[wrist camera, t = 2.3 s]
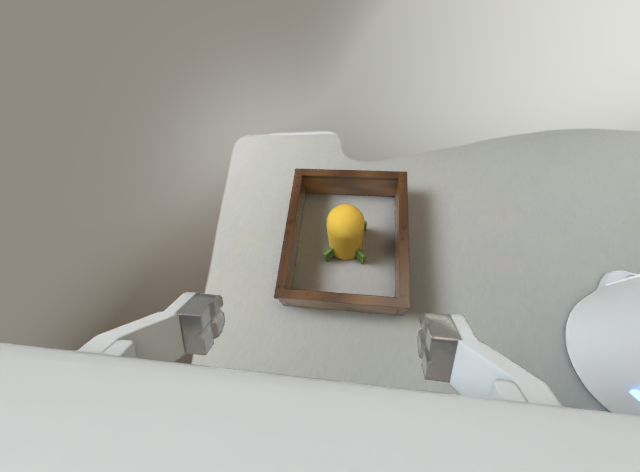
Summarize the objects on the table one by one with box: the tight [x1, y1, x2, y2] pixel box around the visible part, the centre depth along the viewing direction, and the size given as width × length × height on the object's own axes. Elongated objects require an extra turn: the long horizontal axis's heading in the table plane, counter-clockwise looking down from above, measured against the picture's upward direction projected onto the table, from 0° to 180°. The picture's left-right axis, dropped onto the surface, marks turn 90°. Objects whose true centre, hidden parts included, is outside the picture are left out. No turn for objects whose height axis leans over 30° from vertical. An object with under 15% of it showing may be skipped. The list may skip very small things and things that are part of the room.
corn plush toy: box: [324, 204, 367, 264], centre depth 37 cm, size 5×5×8 cm
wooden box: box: [274, 169, 410, 315], centre depth 39 cm, size 15×18×5 cm
